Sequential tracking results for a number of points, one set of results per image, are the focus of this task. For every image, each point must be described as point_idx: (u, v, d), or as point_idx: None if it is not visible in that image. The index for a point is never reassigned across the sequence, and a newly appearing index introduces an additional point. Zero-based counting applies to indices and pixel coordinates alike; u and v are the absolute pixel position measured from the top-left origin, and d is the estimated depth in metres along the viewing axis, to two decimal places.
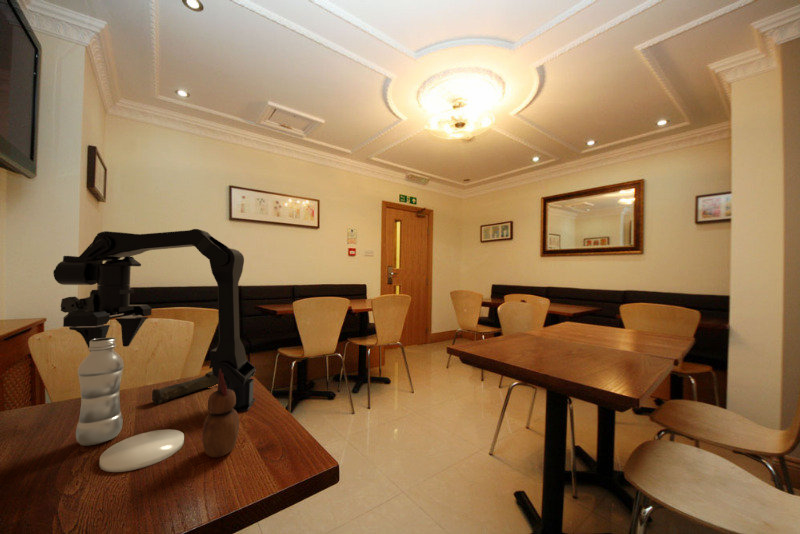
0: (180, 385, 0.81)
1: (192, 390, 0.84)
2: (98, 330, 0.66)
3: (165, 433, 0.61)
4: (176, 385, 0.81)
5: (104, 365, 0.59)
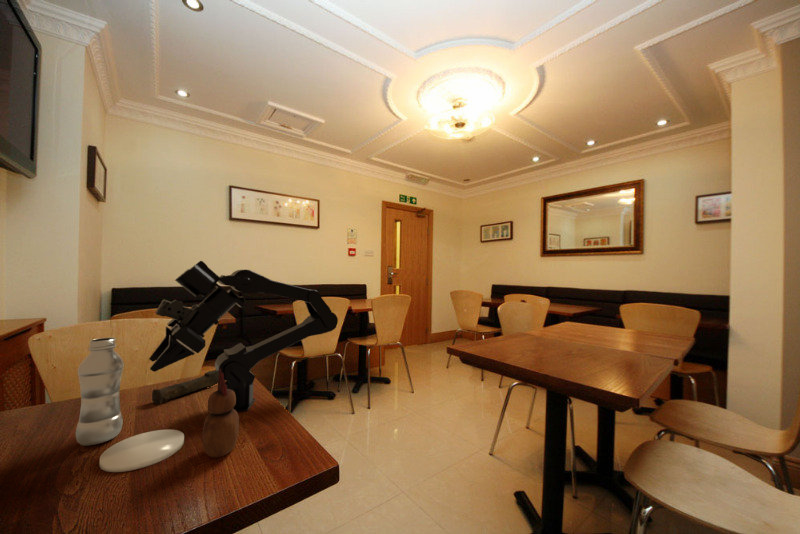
0: (180, 385, 0.81)
1: (192, 390, 0.84)
2: (186, 353, 0.64)
3: (165, 433, 0.61)
4: (176, 385, 0.81)
5: (104, 365, 0.59)
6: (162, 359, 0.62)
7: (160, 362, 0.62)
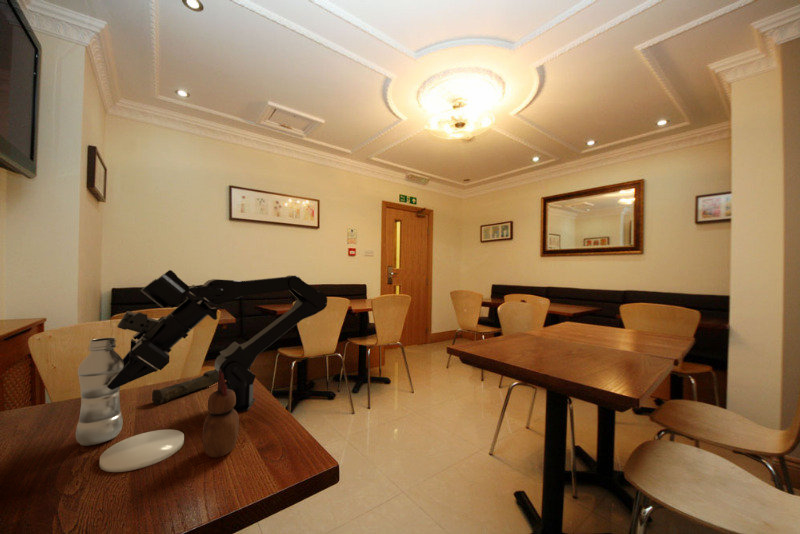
0: (180, 385, 0.81)
1: (192, 390, 0.84)
2: (148, 369, 0.60)
3: (165, 433, 0.61)
4: (176, 385, 0.81)
5: (104, 365, 0.59)
6: (121, 376, 0.58)
7: (119, 379, 0.58)
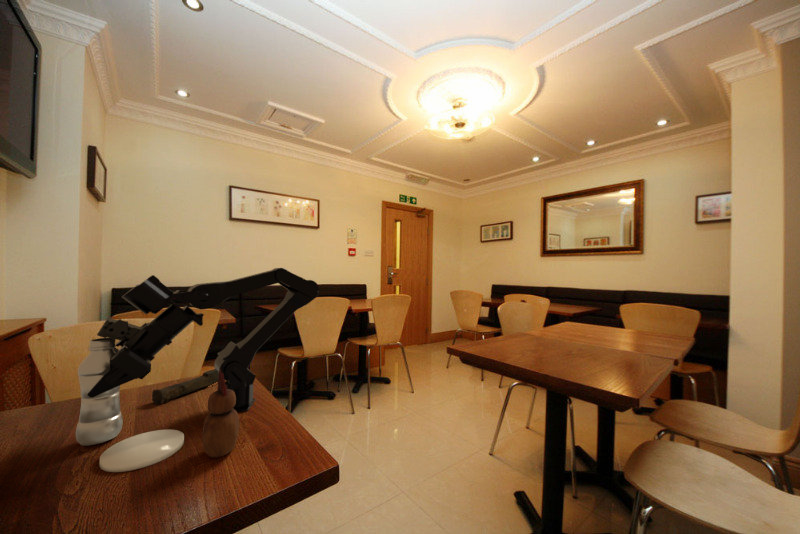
0: (180, 385, 0.81)
1: (192, 390, 0.84)
2: (129, 376, 0.59)
3: (165, 433, 0.61)
4: (176, 385, 0.81)
5: (104, 365, 0.59)
6: (101, 384, 0.57)
7: (99, 387, 0.57)
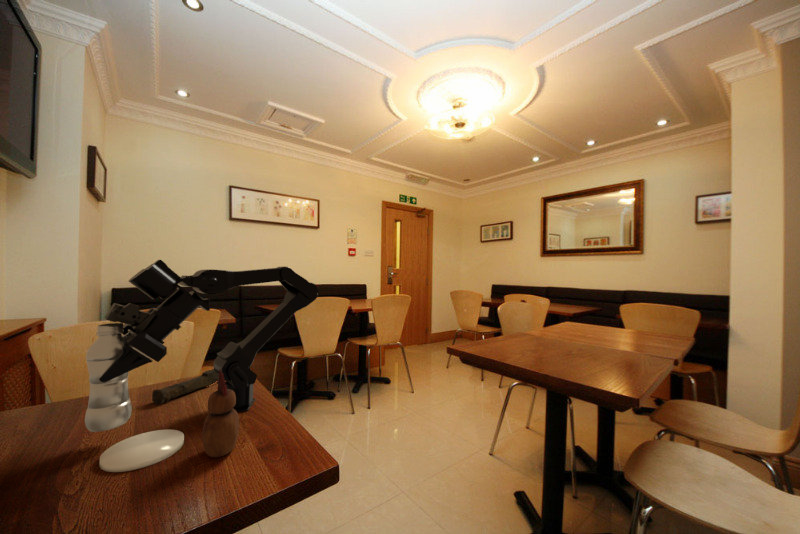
0: (180, 385, 0.81)
1: (191, 389, 0.84)
2: (142, 360, 0.59)
3: (165, 433, 0.61)
4: (176, 385, 0.81)
5: (115, 350, 0.58)
6: (114, 368, 0.56)
7: (111, 372, 0.56)
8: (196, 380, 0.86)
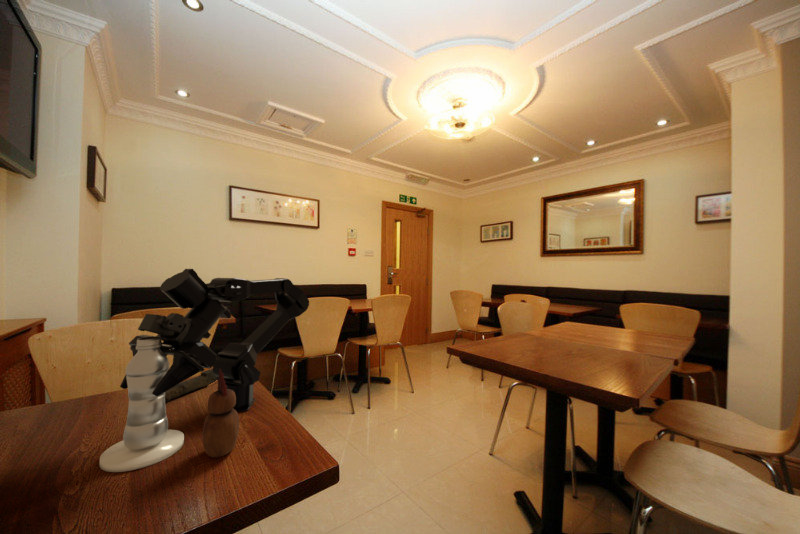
0: (180, 385, 0.82)
1: (191, 389, 0.84)
2: (193, 370, 0.59)
3: None
4: (176, 385, 0.81)
5: (161, 363, 0.57)
6: (168, 380, 0.55)
7: (165, 384, 0.55)
8: (196, 380, 0.86)
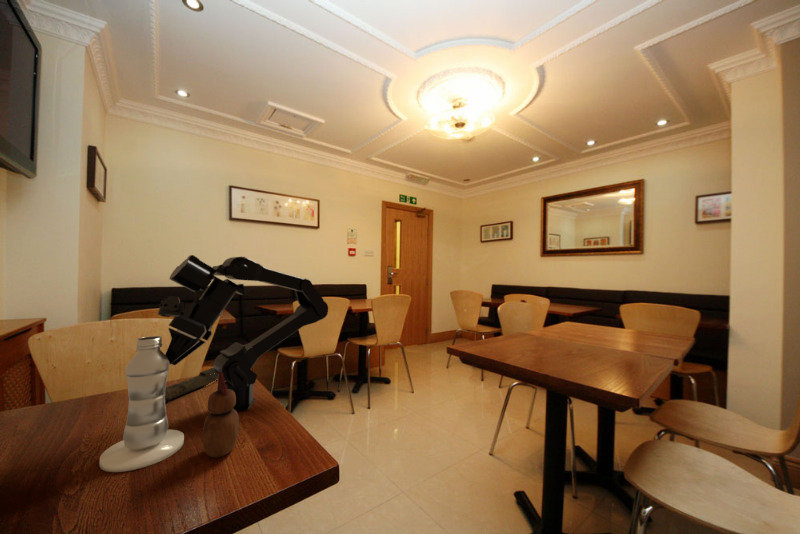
0: (180, 385, 0.82)
1: (191, 389, 0.84)
2: (190, 342, 0.63)
3: None
4: (176, 385, 0.81)
5: (161, 363, 0.57)
6: (169, 353, 0.62)
7: (168, 356, 0.62)
8: (195, 380, 0.86)
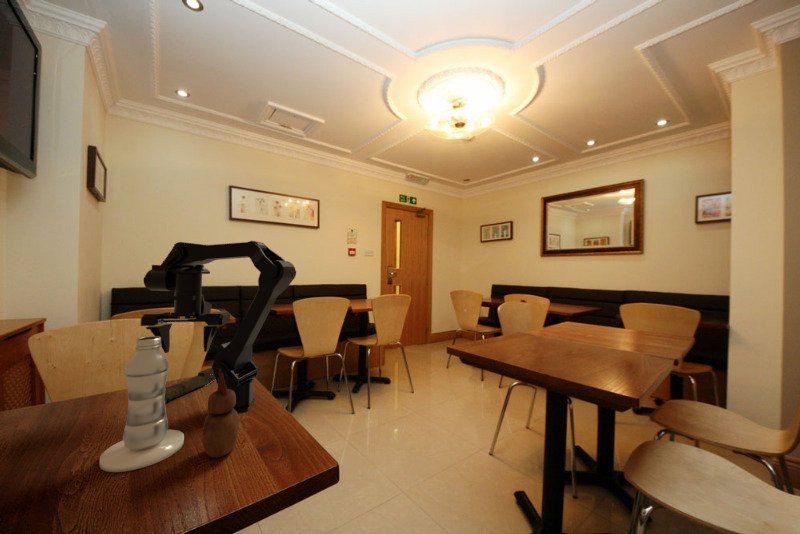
0: (180, 385, 0.82)
1: (190, 389, 0.84)
2: None
3: None
4: (176, 385, 0.81)
5: (161, 363, 0.57)
6: None
7: None
8: (194, 380, 0.86)
